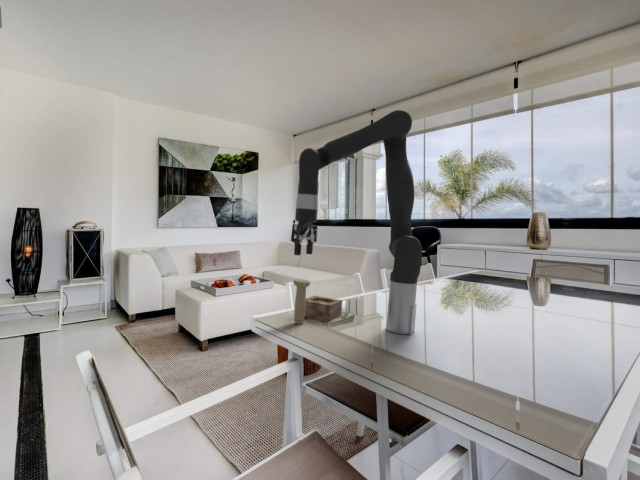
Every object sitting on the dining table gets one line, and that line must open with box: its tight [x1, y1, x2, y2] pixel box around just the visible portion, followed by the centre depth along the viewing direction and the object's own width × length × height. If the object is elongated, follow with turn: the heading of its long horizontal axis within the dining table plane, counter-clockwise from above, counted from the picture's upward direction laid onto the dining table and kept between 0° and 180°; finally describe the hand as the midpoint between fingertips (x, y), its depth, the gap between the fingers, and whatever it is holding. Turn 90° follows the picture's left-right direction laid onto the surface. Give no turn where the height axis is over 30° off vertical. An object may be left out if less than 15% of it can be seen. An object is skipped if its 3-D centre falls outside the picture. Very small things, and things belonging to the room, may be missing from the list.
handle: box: [293, 278, 311, 325], centre depth 117 cm, size 5×6×15 cm
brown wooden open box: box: [305, 295, 343, 322], centre depth 129 cm, size 12×11×6 cm
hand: (303, 254), depth 116 cm, fingers open, 8 cm apart
